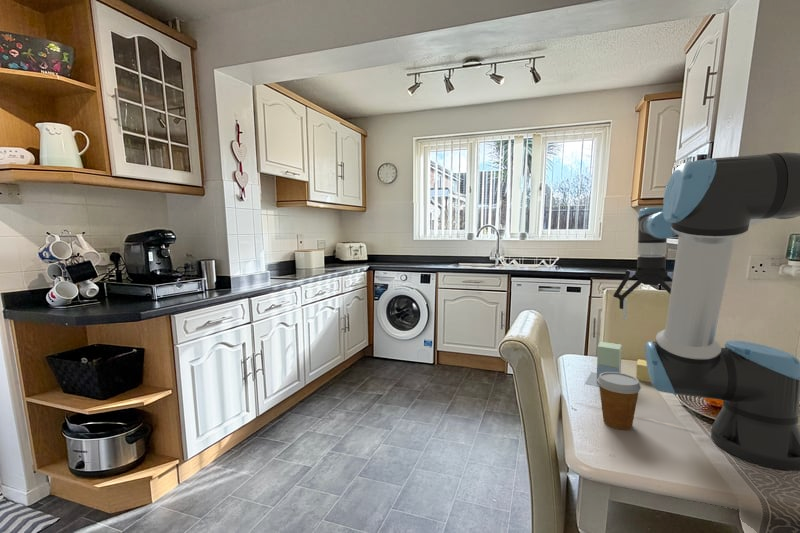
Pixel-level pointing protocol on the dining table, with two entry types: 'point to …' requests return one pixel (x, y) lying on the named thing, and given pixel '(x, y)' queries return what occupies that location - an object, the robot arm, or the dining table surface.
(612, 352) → the sage brick
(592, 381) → the slate board
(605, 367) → the blue base brick
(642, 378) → the ochre brick
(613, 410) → the disposable coffee cup
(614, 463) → the dining table surface
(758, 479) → the dining table surface
